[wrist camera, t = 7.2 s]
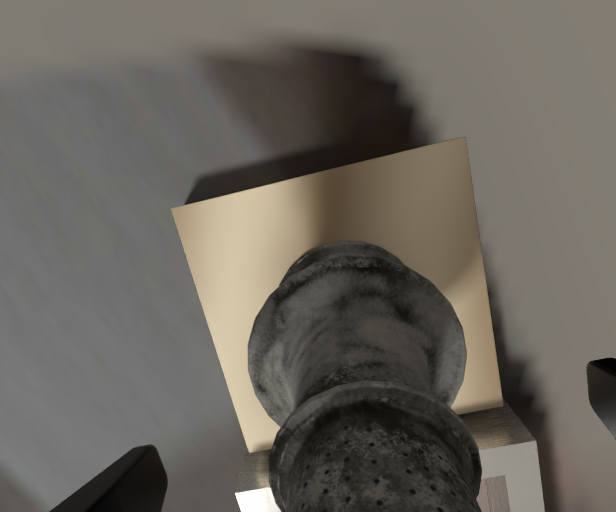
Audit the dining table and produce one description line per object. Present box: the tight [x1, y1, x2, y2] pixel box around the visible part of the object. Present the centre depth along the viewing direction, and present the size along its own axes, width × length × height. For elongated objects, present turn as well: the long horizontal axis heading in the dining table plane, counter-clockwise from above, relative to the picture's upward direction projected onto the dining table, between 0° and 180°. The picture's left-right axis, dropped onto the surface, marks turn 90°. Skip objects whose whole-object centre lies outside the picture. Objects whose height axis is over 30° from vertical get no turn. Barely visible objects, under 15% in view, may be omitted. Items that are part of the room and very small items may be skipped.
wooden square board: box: [171, 137, 503, 453], centre depth 14 cm, size 10×10×1 cm
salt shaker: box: [248, 241, 482, 512], centre depth 8 cm, size 6×6×12 cm
